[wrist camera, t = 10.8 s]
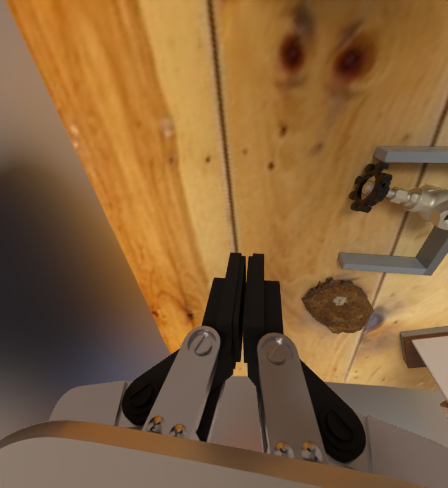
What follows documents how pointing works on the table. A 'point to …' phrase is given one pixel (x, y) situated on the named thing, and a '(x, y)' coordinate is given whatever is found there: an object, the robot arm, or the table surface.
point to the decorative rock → (339, 306)
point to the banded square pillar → (429, 355)
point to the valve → (400, 196)
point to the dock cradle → (435, 243)
